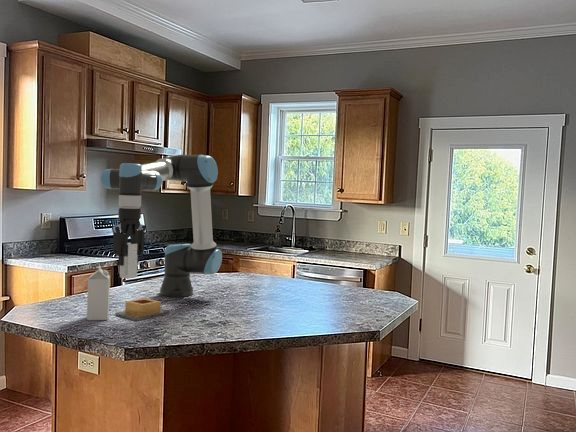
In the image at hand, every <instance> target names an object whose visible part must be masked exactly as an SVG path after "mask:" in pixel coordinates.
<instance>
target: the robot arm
mask: <svg viewBox="0 0 576 432" xmlns="http://www.w3.org/2000/svg"><path fill="white" fill-rule="evenodd" d="M218 175H219V170H218V165H217V162H216V160H215V159H214V157H212V156H210V155H204V154H176V155H171V156H167V157H162V158H158V159H157V160H156V161H154V162H149V163H142V164H140V163H129V162H128V163H127V162H123V163H121V164H119V168H107V169H104V170H103V171H102V172H101V176H100V182H101V186H102V187H104V189H108V190H119V191H118V219H119V221H118V222H117V223H118V224H117V225H115V226H114V225H112V226H111V230H112V240H113V241H112V244H113V245H112V246H113V247H112V249H113V251H112V253H113V255H115V256H117V257H118V260H117V263H118V266H119V275H120V274H121V275H126V267H127V256H125V252H126V246H127V243H128V241H129V237H130V243H136V244H137V265H138V264H139V258H140V257H139V256H141V255H142V253H144V252H145V251H144V250H145V247H144V246H145V231H146V230H147V226H146V224H145V225H144V224H141V221H140V219H142V217H141V216H142V209H141V208H140V207H142V192H143V191H145V192H154V191H157V190H159V189H160V188H161V187H162V184H163V182H164V181H177V182H178V181H179V182H185V183H186V188H187V189H189V190H190V191H189V192H190V202H191V203H190V204H191V220H192V234H193V237H192V238H193V242H192V243H181V244H179V243H177V244H169V245H167V246H166V247H165V250H164V251H165V253H164V276H163V280H162V284H161V286H160V288H159V294H160V295H162V296H163V297H164V296H165V297H175V298H177V297H178V298H179V297H188V296H189V297H190V296H192V295H193V294H194V287H193V285H192V281H191V274H200V275H206V276H208V275H209V276H211V275H215V274H217V273H218V271H219V269H220V268H221V265H222V262H223V253H222V251H221V250H220V249H219V248H218V247H217V243H216V242H215V241H214V238H213V237H214V236H213V220H212V218H213V217H212V203H211V202H212V199H211V189H212V187H213V186H214V183H215V182H216V181H217V180H218Z"/></svg>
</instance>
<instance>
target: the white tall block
mask: <svg viewBox="0 0 576 432" xmlns="http://www.w3.org/2000/svg"><path fill="white" fill-rule="evenodd" d="M125 256H127V267H126V275H121V274H119V278H120V279H121V278H122V279H127V280H128V279H129V280H130V279H136V278H137V276H138V275H137V274H138V264H137V244H136V243H131V242H127V246H126V252H125Z"/></svg>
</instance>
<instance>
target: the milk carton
mask: <svg viewBox="0 0 576 432" xmlns="http://www.w3.org/2000/svg"><path fill="white" fill-rule="evenodd" d="M101 267H102V266H101V265H99V267H98V269H97V270H96V271H94V272H93V273H92V274H91V275H90V276H89V277H88V279H87V298H86V299H87V301H86V321H108V319H109V317H110V316H109V315H110V291H111V290H110V287H111V275H110V272H109V271H108V270H107V269H102V268H101Z"/></svg>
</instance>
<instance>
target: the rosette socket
mask: <svg viewBox="0 0 576 432" xmlns="http://www.w3.org/2000/svg"><path fill="white" fill-rule="evenodd" d="M161 304H162V302H161V301H160V300H155V299H149V298H145V297H143V298H139V299H132V300H127V301H125V305H124V306H125V309H124V310H122V311H118V312H115V317H121V318H123V319H127V320H131V321H137V322H138V321H143V320H147V319H148V320H149V319H151V318H156V317H160V316H164V315H170V310H166V309H162V308H161Z"/></svg>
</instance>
